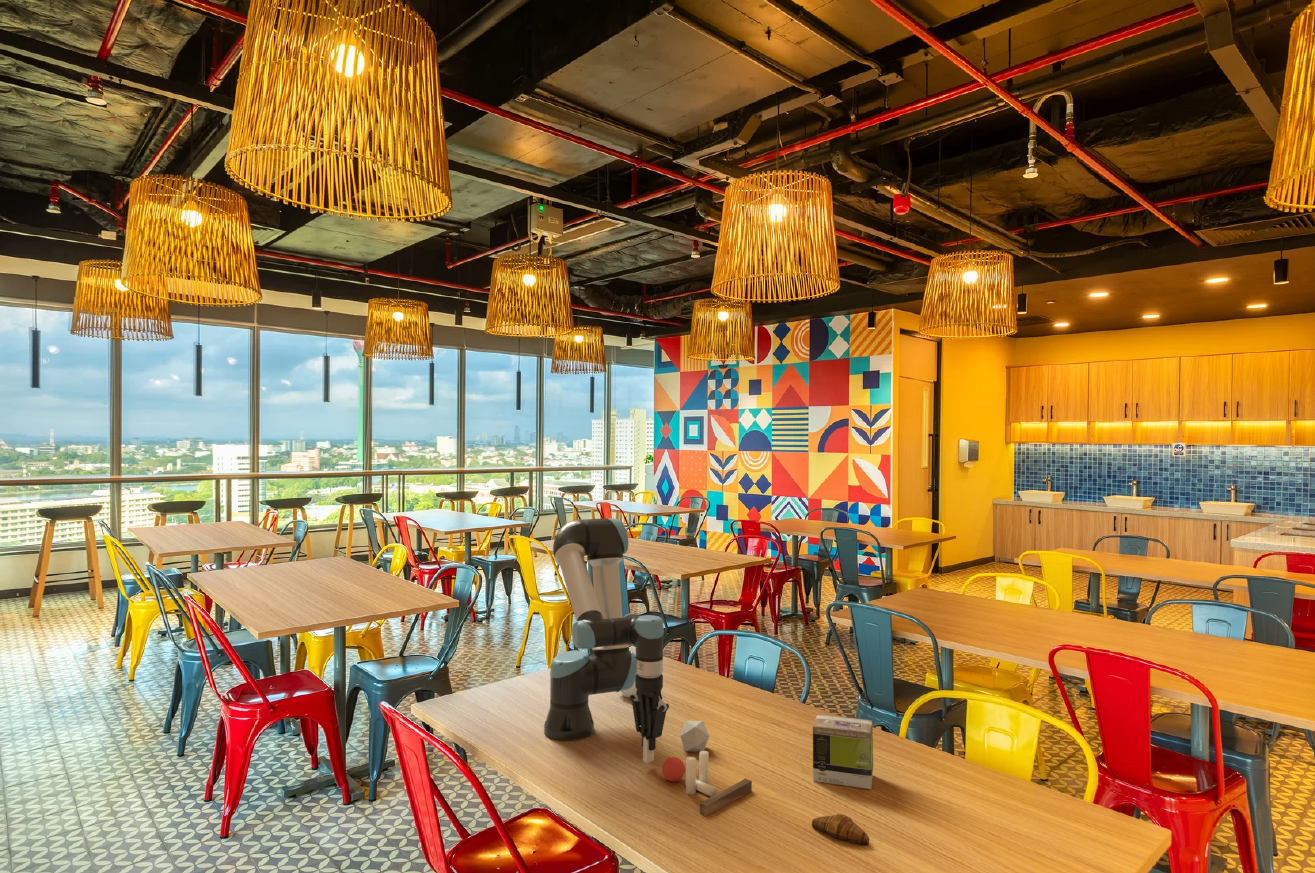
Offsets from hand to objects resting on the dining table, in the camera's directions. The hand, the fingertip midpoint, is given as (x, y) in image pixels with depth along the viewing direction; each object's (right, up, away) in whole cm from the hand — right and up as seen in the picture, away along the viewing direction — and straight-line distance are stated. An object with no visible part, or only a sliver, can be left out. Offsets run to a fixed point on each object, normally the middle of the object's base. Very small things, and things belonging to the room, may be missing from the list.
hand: (648, 760), depth 200 cm
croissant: (+44, -3, -34) cm, 55 cm away
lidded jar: (-6, -3, +57) cm, 58 cm away
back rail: (+20, -2, -19) cm, 27 cm away
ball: (+7, +1, -7) cm, 10 cm away
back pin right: (+11, -2, -14) cm, 18 cm away
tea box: (+52, -3, -5) cm, 52 cm away
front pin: (+10, -1, -10) cm, 14 cm away
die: (+13, -2, +12) cm, 18 cm away
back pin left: (+14, -2, -10) cm, 18 cm away
